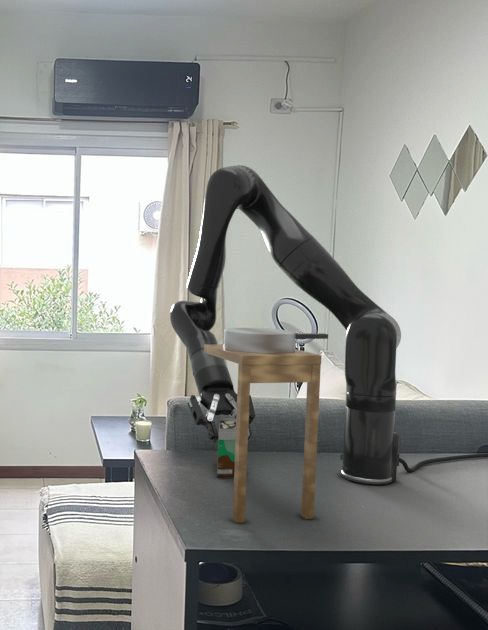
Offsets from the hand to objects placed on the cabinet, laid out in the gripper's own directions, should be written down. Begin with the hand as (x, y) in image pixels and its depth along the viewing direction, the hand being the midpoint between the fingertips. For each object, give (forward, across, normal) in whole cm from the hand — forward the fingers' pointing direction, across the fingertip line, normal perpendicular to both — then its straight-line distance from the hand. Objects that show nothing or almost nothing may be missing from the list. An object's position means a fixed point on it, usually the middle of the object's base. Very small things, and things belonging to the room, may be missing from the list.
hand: (231, 439), depth 152 cm
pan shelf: (+20, -2, -11) cm, 22 cm away
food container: (+6, 0, +4) cm, 7 cm away
